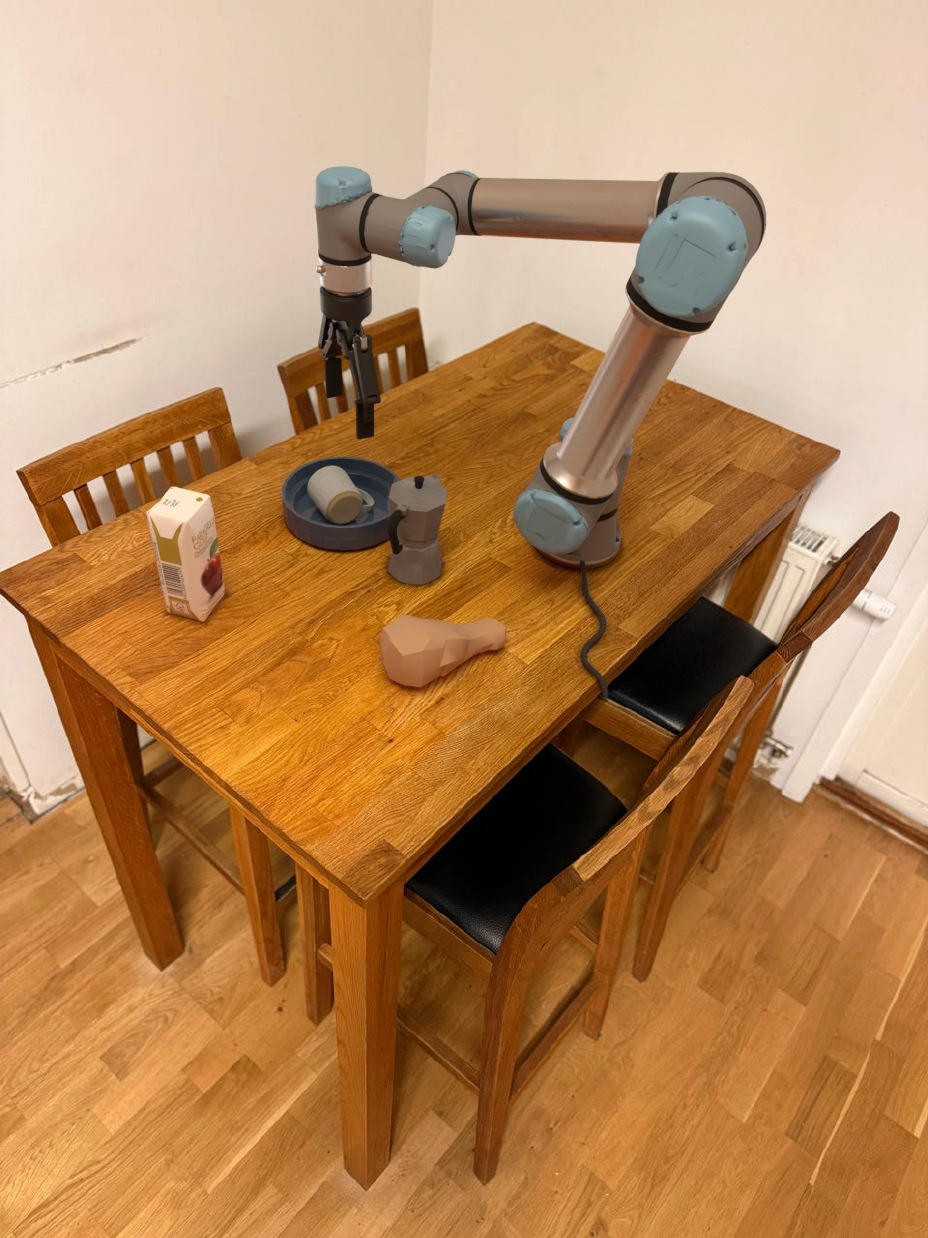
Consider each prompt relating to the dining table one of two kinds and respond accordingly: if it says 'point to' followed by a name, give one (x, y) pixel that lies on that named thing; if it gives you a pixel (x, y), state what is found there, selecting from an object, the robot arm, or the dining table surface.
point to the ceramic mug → (337, 495)
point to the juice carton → (187, 553)
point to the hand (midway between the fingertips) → (349, 416)
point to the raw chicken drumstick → (434, 646)
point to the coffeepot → (416, 529)
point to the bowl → (318, 529)
